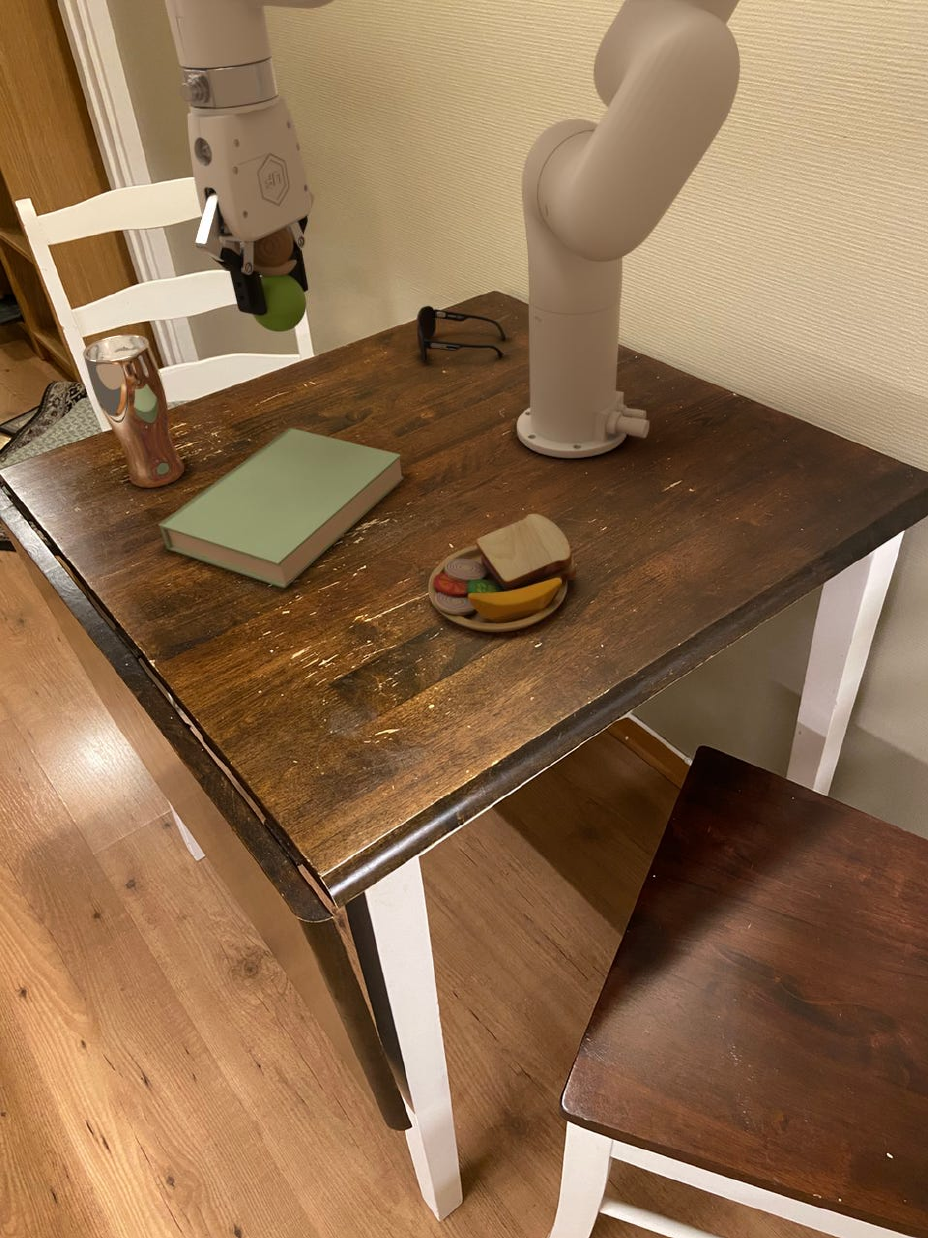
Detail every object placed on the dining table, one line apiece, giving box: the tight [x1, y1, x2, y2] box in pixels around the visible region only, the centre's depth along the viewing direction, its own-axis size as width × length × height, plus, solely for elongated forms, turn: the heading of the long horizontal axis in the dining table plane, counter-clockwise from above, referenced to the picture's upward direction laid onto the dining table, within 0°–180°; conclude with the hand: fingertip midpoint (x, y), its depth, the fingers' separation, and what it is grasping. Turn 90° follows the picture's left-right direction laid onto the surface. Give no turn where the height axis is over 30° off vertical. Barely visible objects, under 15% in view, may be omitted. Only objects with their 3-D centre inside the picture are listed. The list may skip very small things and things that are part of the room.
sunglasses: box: [416, 305, 506, 361], centre depth 119 cm, size 10×12×5 cm
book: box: [158, 427, 405, 589], centre depth 91 cm, size 15×21×3 cm
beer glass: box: [82, 333, 185, 489], centre depth 95 cm, size 7×7×15 cm
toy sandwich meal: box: [427, 513, 577, 633], centre depth 78 cm, size 12×14×5 cm
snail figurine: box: [235, 227, 307, 333], centre depth 83 cm, size 5×6×12 cm
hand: (274, 299), depth 85 cm, fingers closed on snail figurine, 5 cm apart
